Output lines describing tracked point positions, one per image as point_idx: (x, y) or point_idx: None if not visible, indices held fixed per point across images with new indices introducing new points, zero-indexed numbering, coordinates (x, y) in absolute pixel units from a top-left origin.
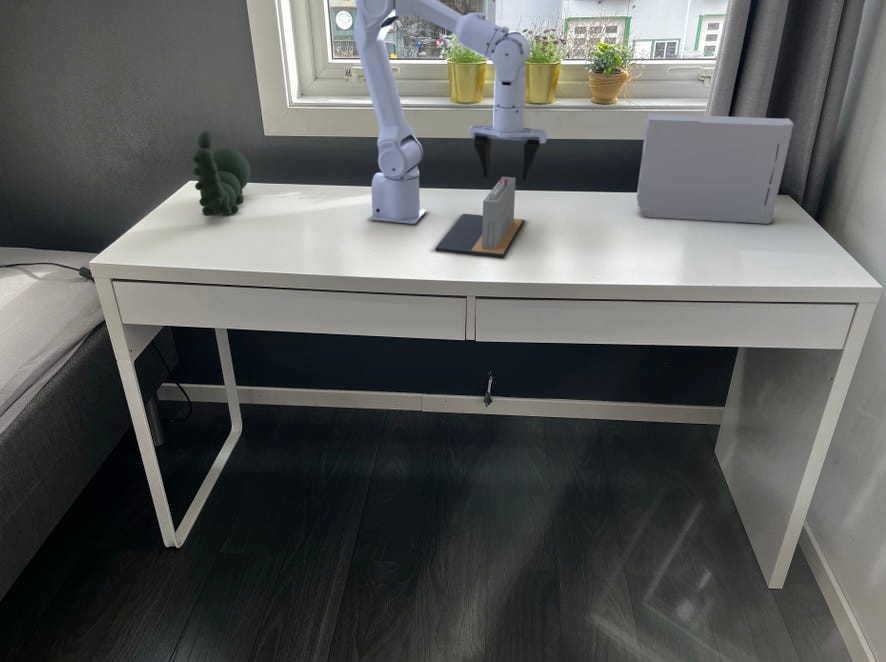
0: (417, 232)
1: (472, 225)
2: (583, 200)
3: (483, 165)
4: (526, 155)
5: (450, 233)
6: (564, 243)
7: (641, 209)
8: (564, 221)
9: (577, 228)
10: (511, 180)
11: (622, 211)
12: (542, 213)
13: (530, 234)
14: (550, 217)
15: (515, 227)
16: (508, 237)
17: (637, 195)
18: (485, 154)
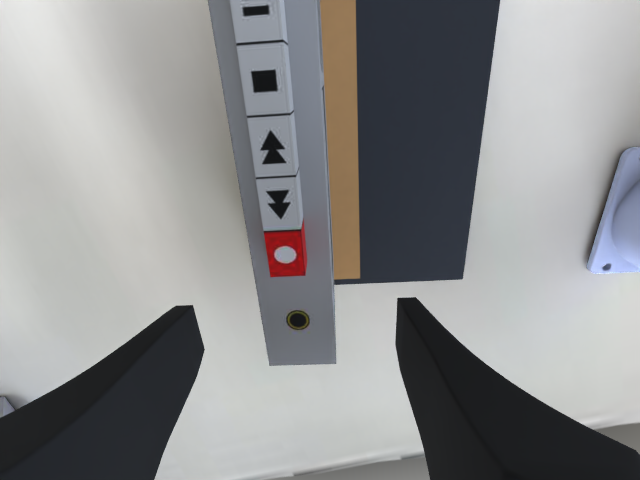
0: (605, 78)
1: (412, 189)
2: (188, 448)
3: (441, 334)
4: (54, 418)
5: (477, 81)
6: (88, 157)
7: (2, 411)
8: None
9: (115, 285)
10: (274, 327)
11: None
12: (246, 355)
13: (216, 197)
14: (216, 336)
15: None
16: None
17: None
18: (454, 394)
